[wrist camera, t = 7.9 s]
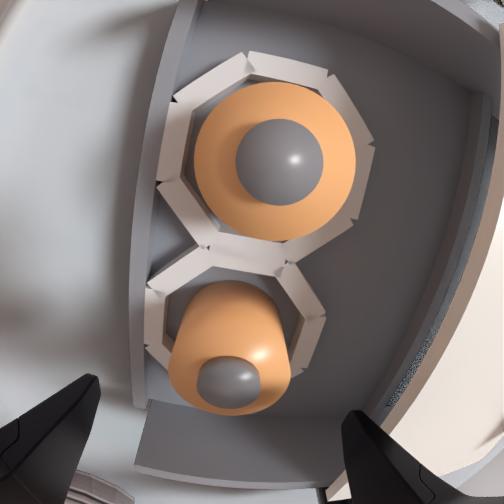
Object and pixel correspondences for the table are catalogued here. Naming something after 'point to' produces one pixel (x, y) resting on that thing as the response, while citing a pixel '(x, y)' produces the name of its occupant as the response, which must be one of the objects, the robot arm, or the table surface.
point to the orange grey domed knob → (274, 161)
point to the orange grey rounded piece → (230, 350)
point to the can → (95, 491)
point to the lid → (460, 355)
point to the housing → (321, 240)
